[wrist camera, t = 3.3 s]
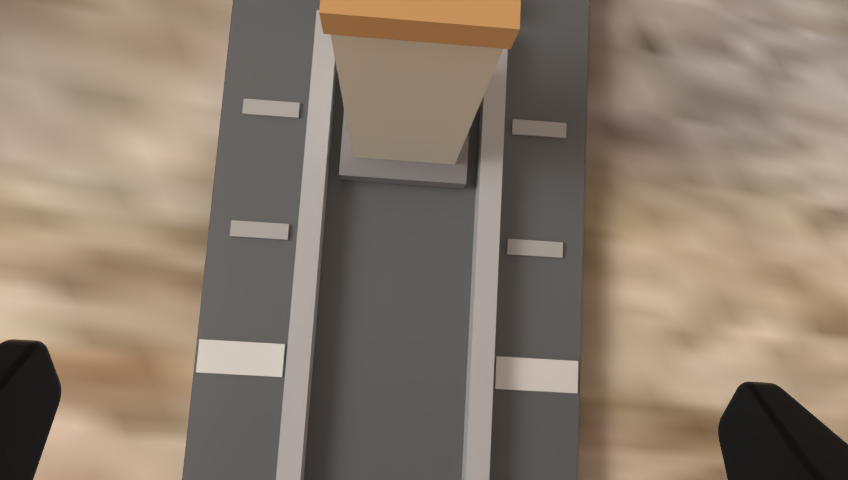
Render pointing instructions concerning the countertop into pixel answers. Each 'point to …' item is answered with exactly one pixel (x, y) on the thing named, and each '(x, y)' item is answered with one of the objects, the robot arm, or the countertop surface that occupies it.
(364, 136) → the fader
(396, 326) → the grey slider track
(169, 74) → the countertop surface
